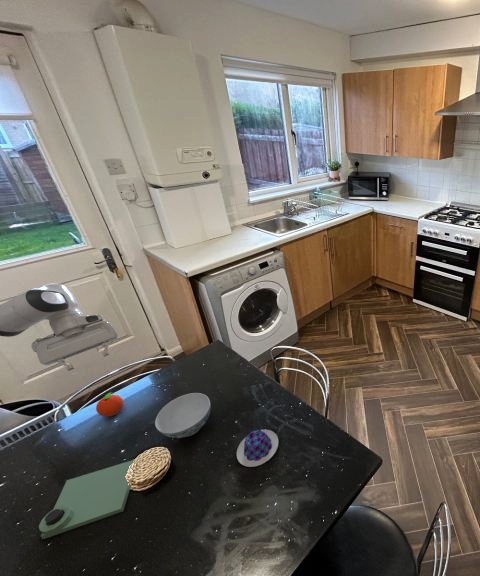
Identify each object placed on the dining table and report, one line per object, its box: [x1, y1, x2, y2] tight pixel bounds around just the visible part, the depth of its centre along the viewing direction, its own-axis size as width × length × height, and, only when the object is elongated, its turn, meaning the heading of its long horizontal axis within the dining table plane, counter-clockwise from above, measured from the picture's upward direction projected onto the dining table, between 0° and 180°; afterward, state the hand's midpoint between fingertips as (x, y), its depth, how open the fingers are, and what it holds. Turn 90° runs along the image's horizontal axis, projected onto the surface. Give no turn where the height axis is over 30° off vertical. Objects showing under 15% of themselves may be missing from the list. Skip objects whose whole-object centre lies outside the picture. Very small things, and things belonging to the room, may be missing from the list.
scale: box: [38, 459, 135, 540], centre depth 82 cm, size 16×14×3 cm
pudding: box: [236, 429, 279, 468], centre depth 93 cm, size 12×12×5 cm
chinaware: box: [154, 392, 212, 439], centre depth 99 cm, size 15×15×8 cm
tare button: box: [45, 509, 64, 525], centre depth 75 cm, size 3×3×2 cm
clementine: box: [95, 392, 124, 418], centre depth 104 cm, size 8×7×7 cm
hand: (89, 362), depth 106 cm, fingers open, 8 cm apart
